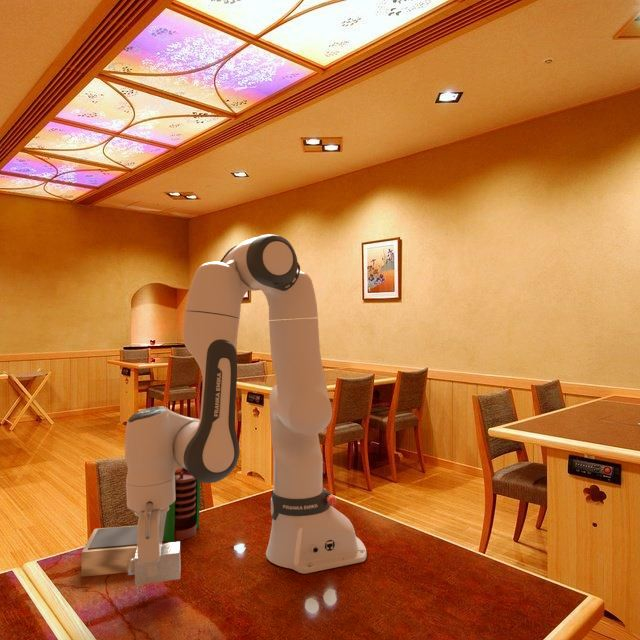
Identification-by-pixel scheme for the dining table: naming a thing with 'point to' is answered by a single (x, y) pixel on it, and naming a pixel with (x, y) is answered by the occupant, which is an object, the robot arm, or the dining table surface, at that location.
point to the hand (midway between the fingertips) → (154, 566)
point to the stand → (109, 551)
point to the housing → (166, 566)
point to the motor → (183, 508)
